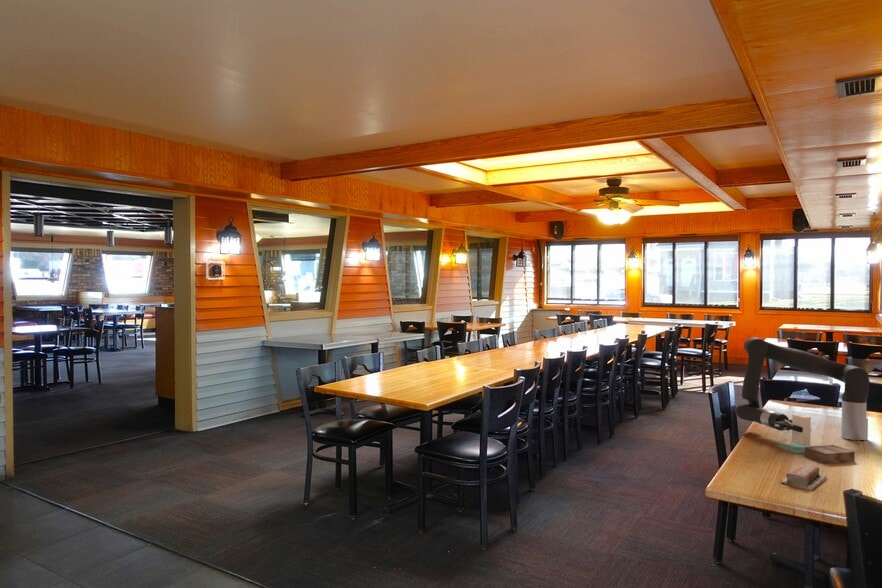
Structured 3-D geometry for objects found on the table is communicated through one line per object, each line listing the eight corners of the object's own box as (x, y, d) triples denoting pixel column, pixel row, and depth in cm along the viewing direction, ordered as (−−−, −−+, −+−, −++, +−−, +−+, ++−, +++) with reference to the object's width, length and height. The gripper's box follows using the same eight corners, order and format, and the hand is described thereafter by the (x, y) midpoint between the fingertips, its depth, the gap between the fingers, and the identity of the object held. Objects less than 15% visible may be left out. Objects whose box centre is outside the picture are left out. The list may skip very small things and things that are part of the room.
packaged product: (812, 478, 198) (780, 471, 205) (812, 492, 198) (780, 484, 205) (827, 466, 210) (796, 460, 217) (827, 480, 210) (796, 473, 218)
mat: (803, 444, 254) (803, 443, 254) (825, 451, 243) (825, 450, 243) (776, 446, 251) (776, 445, 251) (797, 454, 240) (797, 452, 240)
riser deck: (832, 454, 240) (832, 444, 240) (854, 461, 230) (854, 451, 230) (804, 456, 237) (804, 446, 237) (825, 464, 227) (825, 453, 227)
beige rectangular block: (798, 441, 250) (799, 414, 250) (810, 445, 244) (810, 417, 244) (791, 441, 249) (792, 414, 249) (803, 445, 244) (803, 417, 243)
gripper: (761, 412, 259) (792, 421, 243) (787, 411, 263) (820, 420, 246) (760, 429, 260) (792, 439, 243) (787, 427, 263) (819, 437, 246)
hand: (806, 429), depth 244 cm, fingers closed on beige rectangular block, 3 cm apart
